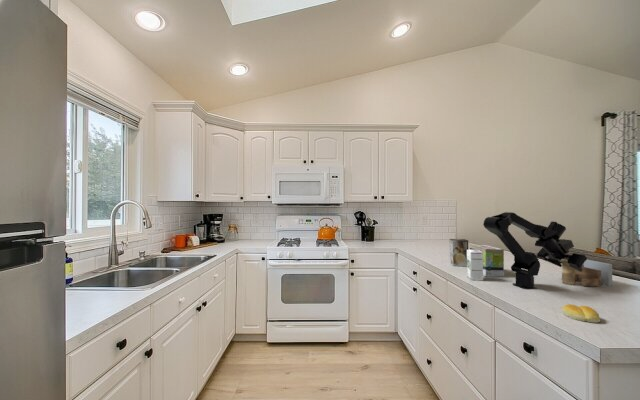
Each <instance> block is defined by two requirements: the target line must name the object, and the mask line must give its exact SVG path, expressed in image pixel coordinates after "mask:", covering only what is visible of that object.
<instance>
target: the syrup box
mask: <svg viewBox="0 0 640 400" xmlns="http://www.w3.org/2000/svg"><path fill="white" fill-rule="evenodd" d="M466 277H467V278H468V279H469V280H471V281H478V282H479V281H480V282H481V281H482V282H483V281H484V275H483V253H482V252H481V251H479V250H470V249H469V250H467V266H466Z"/></svg>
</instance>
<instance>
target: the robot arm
mask: <svg viewBox="0 0 640 400" xmlns="http://www.w3.org/2000/svg"><path fill="white" fill-rule="evenodd" d="M512 225H513V226H516V228H519V229H520V230H521V229H522V231H524V232H525V234H526V235H527V236H528V237H530V238H534V239H537V240H535V243H534V246H535V247H540V250H539V251H538V252H537V254H535V253H533V252H529V251H526V250H525V249H524V248H523V246H522V245H521V244H520V243H519V242H518V240H516V238H515V237H514V236H513V234H511V232H510V230H509V228H510V226H512ZM483 227H484V228H485V229H486V230H487V231H488V232H490V233H491V234H493V235H496V236H497V238H498V239H499V240H500V242H502V244H503V245H504V246H505V247H506V248H507V250H508V251H509V252H510V253H511V255H513V256H514V257H513V261H514V263H513V264H512V265H511V266H510V269H511V272H515V283H514V282H513V283H512V285H513V286H516V287H519V288H521V289H524V290H529V289H530V290H531V289H537V288H538V287H537V286H535V277H536V276H537V277H538V276H539V271H540V268H541V263H540V261H539V260H542V261H545V262H547V263H550V264H552V265H554V266H557V267H559V268H562V262H561V261H562V260H568V264H569V265H570V266H571V267H572V268H574V269H576V270H578V271H580V272H581V271H582V267H583V266H584V262H585V261H586V260H588V257H587V256H586V254H584V253H583V254H582V253H578V252H574V253H572V254H569V252H570V251H569V250H571V249H572V248H574V247H575V246H574V243H573V240H572V239H563V238H561V237H562V236H563V234H564V233H565V232H566V230H567V228H566V226H564V225H562V224H561V223H559V222H557V221H553V220H552V221H550V222H549V224H548V225H547V226H546V225H545V226H544V225H540V224H536V223H533V222H531V221H529V220H527V219H525V218H524V217H521V216H520V215H518V214H516V213H515V212H512V211H511V212H509V211H505V212H501V213H499V214H496V215H493V216H487V217H486V218H485V219H484V220H483ZM534 276H535V277H534Z"/></svg>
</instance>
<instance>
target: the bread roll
mask: <svg viewBox="0 0 640 400" xmlns="http://www.w3.org/2000/svg"><path fill="white" fill-rule="evenodd" d="M561 313H562V314H563V315H564V316H566V317H568V318H570V317H571V318H570V319H572V320H576V319H577V321H580V322H587V323H593V324H595V323H600V322H601V319H600V315H599V313H598V312H597V311H596V310H595V309H594V308H593V307H589V306H586V305H580V306H577V305H575V304H569V303H568V304H565V305H563V306H562V308H561Z"/></svg>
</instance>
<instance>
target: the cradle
mask: <svg viewBox="0 0 640 400" xmlns="http://www.w3.org/2000/svg"><path fill="white" fill-rule="evenodd" d="M575 281H579V282H580V283H581V286H583V287H599V286H602V284H601V270H596V269H591V268H587V267H584V266H582V271H581V272H580V271H578V270H576V269H575Z"/></svg>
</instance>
